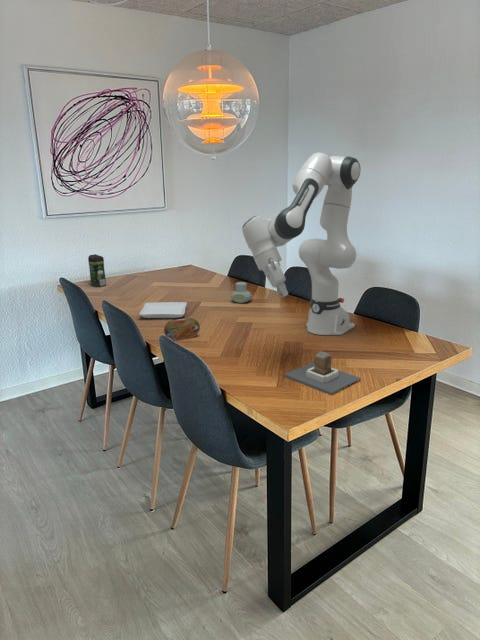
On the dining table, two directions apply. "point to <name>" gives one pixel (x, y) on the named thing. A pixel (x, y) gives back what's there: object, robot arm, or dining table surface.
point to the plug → (322, 363)
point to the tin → (181, 329)
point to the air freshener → (241, 293)
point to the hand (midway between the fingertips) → (285, 296)
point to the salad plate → (163, 310)
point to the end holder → (322, 378)
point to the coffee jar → (97, 270)
